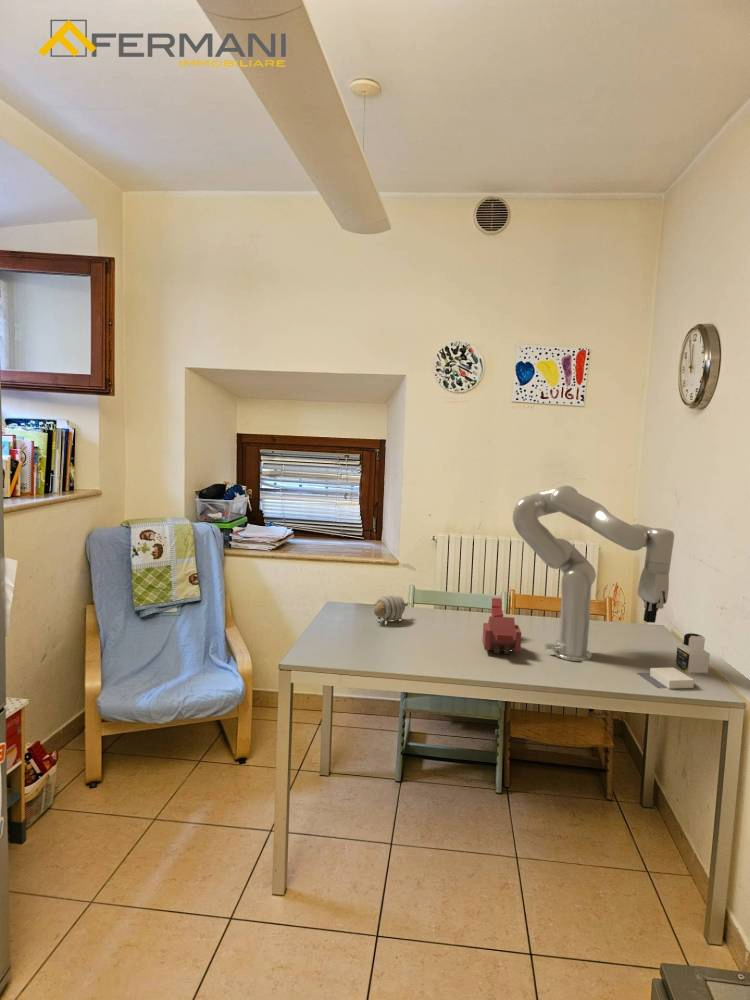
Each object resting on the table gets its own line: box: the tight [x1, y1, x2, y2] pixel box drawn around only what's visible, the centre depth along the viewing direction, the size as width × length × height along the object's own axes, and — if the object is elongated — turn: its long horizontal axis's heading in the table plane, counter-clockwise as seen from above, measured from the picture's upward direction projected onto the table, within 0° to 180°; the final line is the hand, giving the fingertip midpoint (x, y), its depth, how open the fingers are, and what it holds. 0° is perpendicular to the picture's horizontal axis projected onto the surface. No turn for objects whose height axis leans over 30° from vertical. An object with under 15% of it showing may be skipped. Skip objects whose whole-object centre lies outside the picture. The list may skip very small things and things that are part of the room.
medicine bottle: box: [675, 632, 711, 674], centre depth 205 cm, size 7×7×12 cm
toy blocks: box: [481, 597, 522, 655], centre depth 222 cm, size 12×20×25 cm
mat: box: [636, 672, 701, 689], centre depth 195 cm, size 14×12×1 cm
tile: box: [649, 667, 695, 690], centre depth 193 cm, size 8×3×10 cm
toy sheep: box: [373, 593, 409, 622], centre depth 247 cm, size 11×17×11 cm, turn 135°
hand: (649, 621), depth 204 cm, fingers closed
